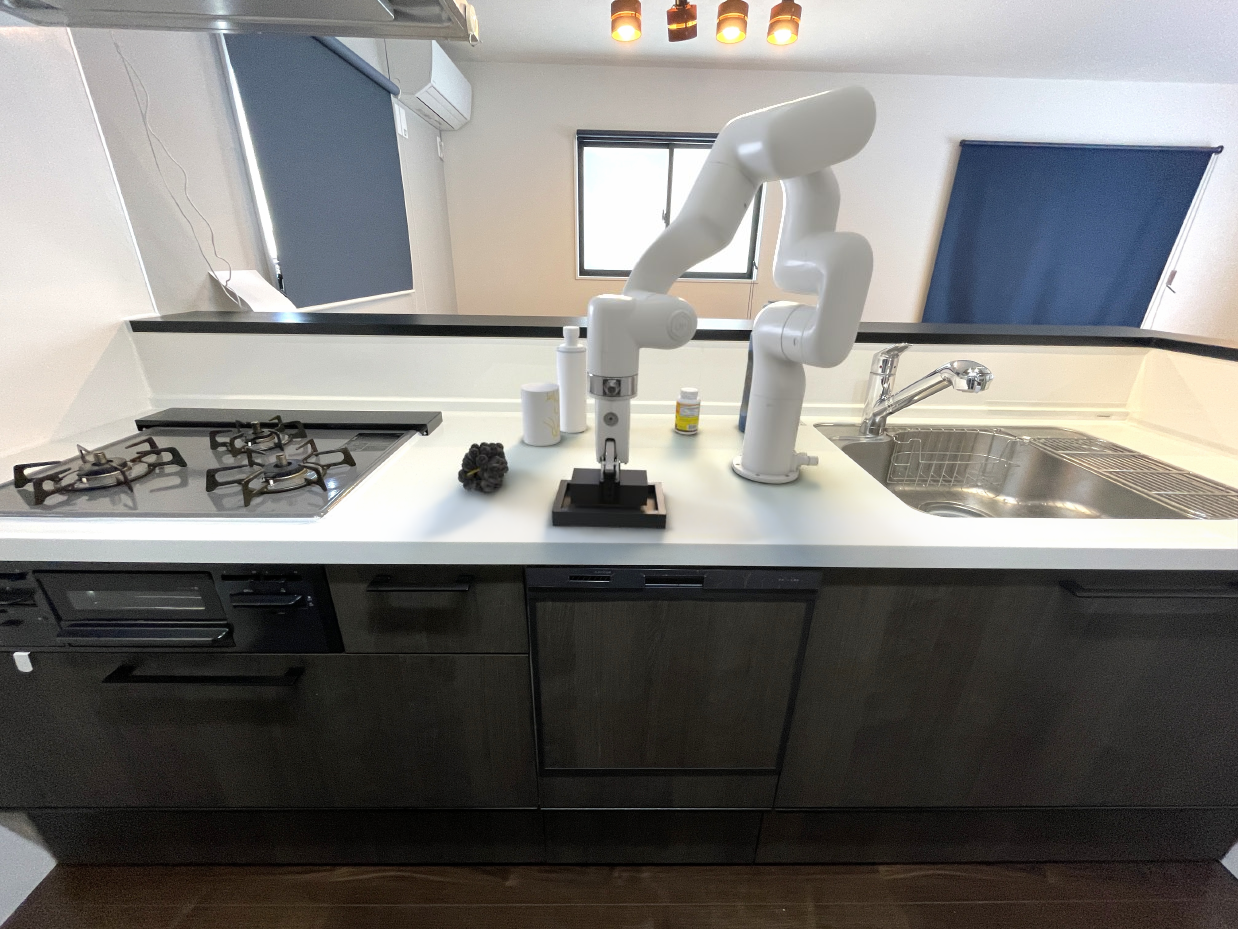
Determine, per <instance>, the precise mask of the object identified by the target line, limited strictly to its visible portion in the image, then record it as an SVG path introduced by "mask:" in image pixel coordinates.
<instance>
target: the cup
mask: <svg viewBox="0 0 1238 929" xmlns="http://www.w3.org/2000/svg"><path fill="white" fill-rule="evenodd" d="M520 398H521V401H520V402H521V416H522V417H521V418H522V434H523V435H522V436H523V442H524V443H525V444H526V445H530V446H533V447H534V446H535V447H547V446H549V447H550V446H553V445H556V444H558V443H559V442H561V431H560V394H559V385H557V383H554V382H550V381H549V382H548V381H533V382H527V383H524V384H522V385H521V386H520Z"/></svg>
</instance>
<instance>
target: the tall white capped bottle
mask: <svg viewBox="0 0 1238 929" xmlns="http://www.w3.org/2000/svg"><path fill="white" fill-rule="evenodd" d="M562 337H564V338H563V339H564V343H561V344H558V346H557V347H556V384H557V385H559V394H560V432H562V433H567V434H576V433H583V432H585V431H586V430H587V428H588V427H587V426H588V423H587V422H588V417H587V415H588V414H587V411H588V408H587V407H588V406H587V405H588V404H587V402H588V401H587V400H588V398H587V396H588V395H587V347H584V345H583V344H582V343H579V337H580V327H579V326H576V325H575V326H574V325H565V326H563V327H562Z"/></svg>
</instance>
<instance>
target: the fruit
mask: <svg viewBox="0 0 1238 929" xmlns="http://www.w3.org/2000/svg"><path fill="white" fill-rule="evenodd" d="M504 449H505V446H504V445H503V443H502V442H496V443H495V442H489V443H488V442H485V441H483V442H480V444H478V443H475V442H474V443H472V444H471V445H470V447H469V448H468V451H467V452H465V454H464V456H463V458H462V461H461V464H460V465H461V468H460V469H459V470H458V472H457V480H458V482H460V483H462V488H463V489H464V490H465V491H467V492H469V491H471V490H473V489H475V490H477V491H479V492H488V493H489V492H492V491H493V490H494V489H495V488H498V489H500V488H501V487H503V483H504V480H503V479H504V478H505V474H508V472H509V470H510V468H509V466H508V460H507V458H506V453H505V451H504Z"/></svg>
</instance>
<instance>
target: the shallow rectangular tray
mask: <svg viewBox="0 0 1238 929" xmlns="http://www.w3.org/2000/svg"><path fill="white" fill-rule="evenodd" d="M570 482H571V479H560V481H559V485H558V487H557V488H558V489H557V492H556V496H555V500H554V503H553V507H552V511H551V521H552V523H551V524H552V525H551V526H554V527H555V526H557V527H592V528H595V527H596V528H628V529H629V528H631V529H661V530H662V529H664V530H665V529H666V528H667V509H666V503H665V502H666V501H665V497H664V496H665V495H664V490H663V489H664V488H663V484H662V482H661V481H648V497H647V506H636V505H603V504H571V503H570Z"/></svg>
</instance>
